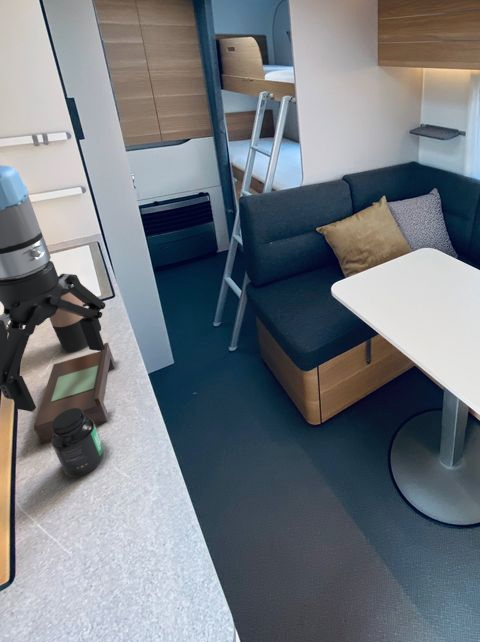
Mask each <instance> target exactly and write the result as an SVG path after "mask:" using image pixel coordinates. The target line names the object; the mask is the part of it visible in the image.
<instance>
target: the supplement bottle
mask: <svg viewBox="0 0 480 642" xmlns="http://www.w3.org/2000/svg"><path fill="white" fill-rule="evenodd" d="M96 426H97V425H95V424H94V422H93V420H92V419H91V418H89V417H86V416H84V414H83V412H82V410H81V409H80V408H72V409H69V410H66V411H64V412H62V413H61V414H59V415H58V416H57V417H56V418H55V419H54V420H53V422H52V428H53V432H54V434H53V436H52V440H51V441H50V442H51V446H52V448H53V450H54V452H55V454H56V456H57V459H58V461H59V464H60V466H61V468H62V470H63V472H64V473H65V474H66V475H67V476H68V477H73V478H76V477H77V478H78V477H81V476H84V475H86V474H88V473H90V472H92V471H93V470H94V469H96V468H97V467H98V466H99V464H100V463H101V462H102V461H103V459H104V457H105V453H106V451H105V448H104V445H103V441H102V439H101V437H100V434H99V431H98V429H97V427H96Z"/></svg>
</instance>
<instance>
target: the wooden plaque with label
mask: <svg viewBox="0 0 480 642" xmlns="http://www.w3.org/2000/svg"><path fill="white" fill-rule="evenodd" d="M103 344H104V346H105V349H104V350H103V351H96V352H93V353H92V352H91V353H89V354H86V355H81V356H78V357H74V358H70V359H67V360H63V361H60V362H57V363H54V364H52V369H51V371H50V375H49V376H48V380H47V384H46V387H45V389H44V392H43V396H42V398H41V402H40V405H39V408H38V411H37V414H36V418H35V421H34V424H33V429H34V431H35V434H36V435H37V437H38V439H39V441H40V444H45V443H48V442H51V440H52V436H53V434H54V432H53V428H52V422H53V420H54V419H55V418H56V417H57V416H58V415H59V414H61V413H62V412H64V411H66V410H69V409H72V408H80V409H81V410H82V412H83V414H84V416H86V417H89V418H91V419H92V420H93V422H94V424H95V426H99V425H101V424H104V423H106V422H108V418H109V413H108V410H107V407H106V405H105V396H106V390H107V389H106V388H107V382H108V376H109V371H110V370H114V369H115V366H116V362H115V359H114V356H113V353H112V350H111V348H110V344H109V342H103Z"/></svg>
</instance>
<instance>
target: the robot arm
mask: <svg viewBox="0 0 480 642" xmlns="http://www.w3.org/2000/svg"><path fill="white" fill-rule="evenodd" d="M24 183H25V182H23V179H22V177H21V174H20V172H19V171H18V170H17V169H16V168H14V167H13V166H10V165H1V164H0V303H1V304H2V306H3V313H2V314H0V391H1V393H2V394H3V396H4V398H6V399H7V400H13V403H14V404H15V407H16V408H17V410H20V411H25V412H30V413H31V412H32V413H33V412H34V411H35V410H37V408H38V407H37V405H36V403H35V401H34V399H33V396H32V395H31V392H30V390H29V388H28V385H27V384H26V382H25V379H24V377H23V375H19V374H18V371H19V369H20V366H21V363H22V359H23V357H24V353H25V351H26V348H27V345H28V342H29V340H30V339H29V338H30V336H32V335H33V334H34V333H35V329H36V327H39V326H40V325H42V324H43V323H44V322H46V320H47V319H50V318H49V317H52V316H53V315H55V314H56V311H57V309H59V310H63V311H66V312H69V313H72V314H76V315H79V316H82V317H85V319H84V318H82V319H81V320H80V321H79V322H80V325H81V327H82V330H83V333H84V336H85V338H86V341H87V344H88V346H87V347H88V349H89V350H91V351H96V352H99V351H103V350H104V349H105V346H104V341H103V338H102V335H101V331H102V324H101V323H100V319H101V318H102V317H103V312H102V311H101V310H104V309H105V308H106V303H105V302H104V301H103V300H102V299H100V298H99V297H98V296H97V295H95V294H94V293H93V291H90V290H89V289H88V288H87V287H86V286H85V285H83V284H82V283H81V281H80V279H79V277H78V275H77V274H72V273H60V275H58V272H57V269H56V267H55V264H54V262H53V261H52V260H51V254H50V251H49V249H48V245H47V242H46V240H45V238H44V235H43V231H42V230H41V228H40V224H39V222H38V219H37V216H36V213H35V210H34V208H33V204H32V201H31V199H30V198H31V197H30V196H29V189H28V188H27V186H26V184H24ZM58 276H59V277H58ZM63 289H66V290H67V291H69V292H70V293H71V294H73V295H74V296H75V297H76V298H78V299H79V300H80V301H81V302H82V304H83V305H85V306H83V307H82V306H79V305H76V304H73V303H71V302H69V301H66V300H63V299H61V295H62V291H63ZM8 324H9V325H8ZM20 325H22V326H24V328H20Z"/></svg>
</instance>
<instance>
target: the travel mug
mask: <svg viewBox="0 0 480 642" xmlns="http://www.w3.org/2000/svg"><path fill="white" fill-rule="evenodd" d="M59 276H60V275H58V277H59ZM61 299H63V300H66V301H69V302H71V303H73V304H76V305H79V306H82V307H84V303H83V302H82V301H80V300H79V299H78V298H76V297H75V296H74V295H73V294H71V293H70V292H69V291H67V290H66V289H63V291H62V295H61ZM82 318H84V319H85V317H82V316H79V315H76V314H72V313H69V312H66V311H63V310H59V309H57V311H56V314H55V315H53V316H52V317H49V318H48V319H49V321H50V323H51V326H52V328H53V331H54V333H55V335H56V337H57V339H58V341H59V343H60V346H61V348H62V350H63V351H64V352H67V353H74V352H78V351H81V350H84V349H85V348H86V347H88V344H87V341H86V338H85V336H84V333H83V330H82V327H81V325H80V322H79V321H80V320H81V319H82Z"/></svg>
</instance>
